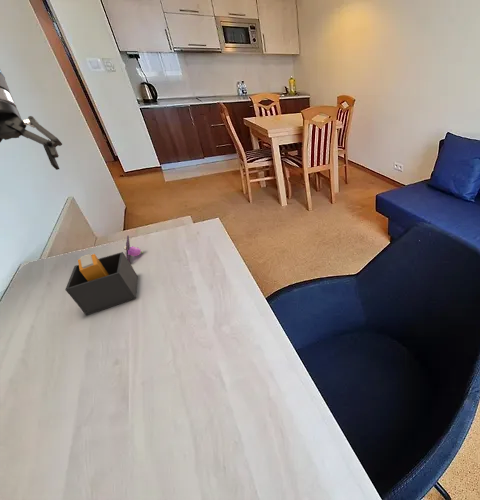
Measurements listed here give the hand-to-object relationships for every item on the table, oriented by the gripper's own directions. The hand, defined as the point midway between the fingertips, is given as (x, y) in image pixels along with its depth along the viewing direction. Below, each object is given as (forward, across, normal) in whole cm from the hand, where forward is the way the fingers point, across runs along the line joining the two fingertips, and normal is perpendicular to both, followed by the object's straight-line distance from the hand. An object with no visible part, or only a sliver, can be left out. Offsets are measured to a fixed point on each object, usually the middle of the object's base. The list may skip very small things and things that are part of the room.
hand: (25, 173), depth 83 cm
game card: (+25, -13, -23) cm, 36 cm away
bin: (+38, -6, -9) cm, 40 cm away
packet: (+38, -5, -9) cm, 39 cm away
